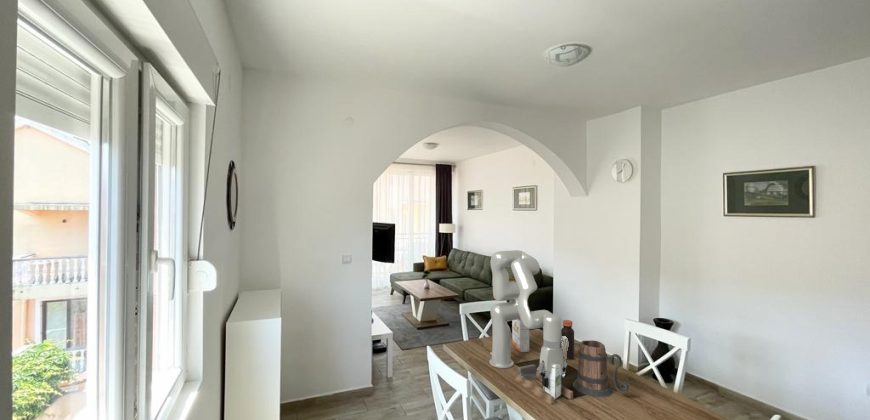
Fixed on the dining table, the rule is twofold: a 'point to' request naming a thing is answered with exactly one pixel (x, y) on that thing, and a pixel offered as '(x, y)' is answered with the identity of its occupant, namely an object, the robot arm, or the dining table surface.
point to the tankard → (596, 370)
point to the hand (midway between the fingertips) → (552, 384)
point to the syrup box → (554, 381)
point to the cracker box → (520, 335)
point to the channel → (531, 373)
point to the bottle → (569, 334)
